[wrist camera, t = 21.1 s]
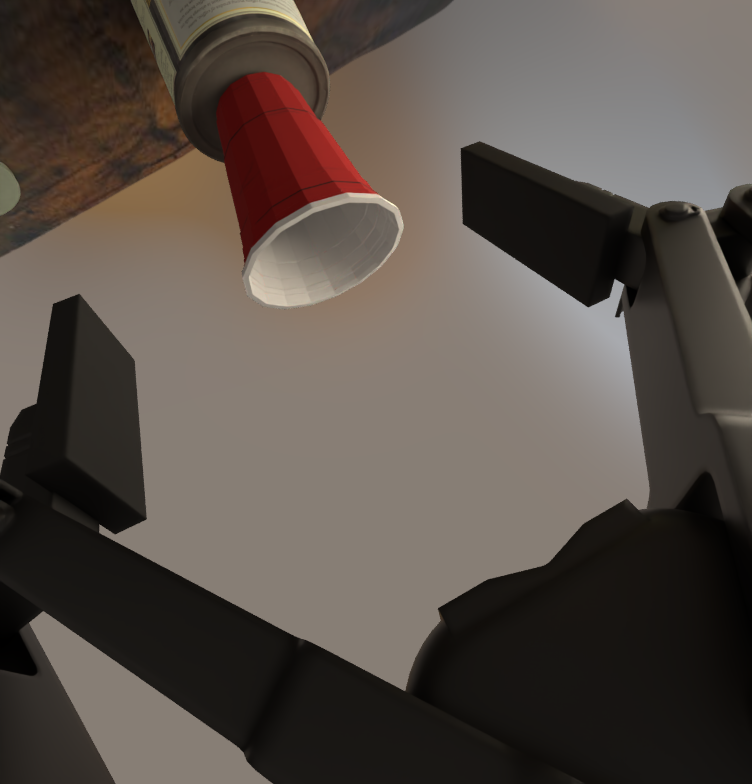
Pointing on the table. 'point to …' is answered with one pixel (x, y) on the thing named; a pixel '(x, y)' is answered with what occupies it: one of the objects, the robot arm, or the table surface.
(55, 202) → the table surface
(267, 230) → the plastic cup
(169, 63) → the coffee can
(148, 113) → the table surface
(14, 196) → the coaster
